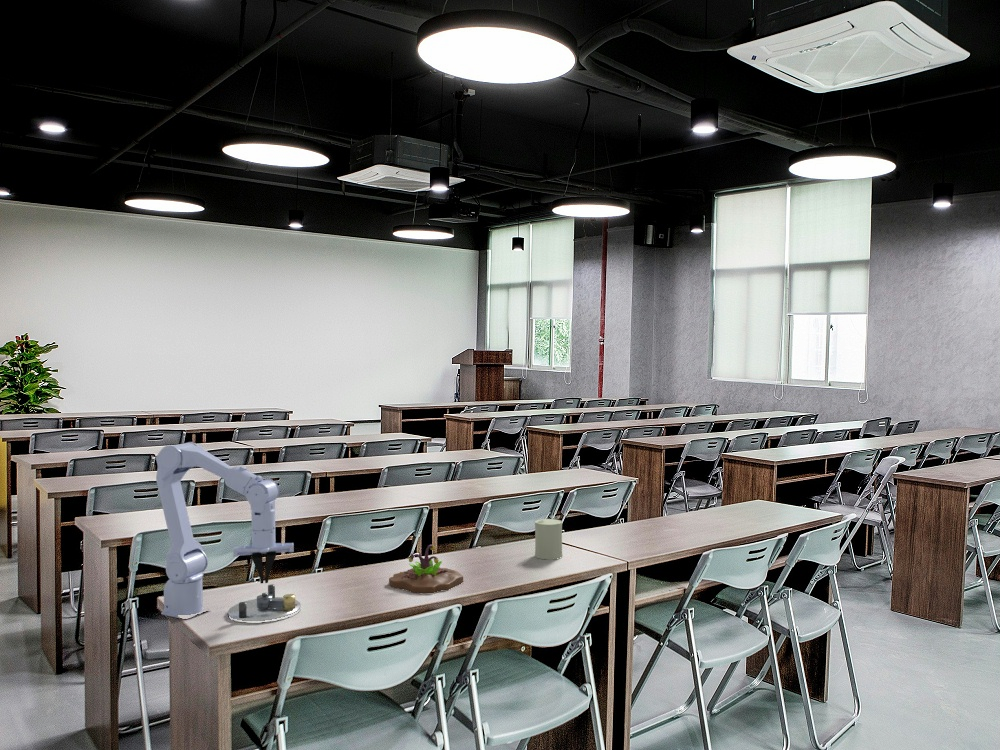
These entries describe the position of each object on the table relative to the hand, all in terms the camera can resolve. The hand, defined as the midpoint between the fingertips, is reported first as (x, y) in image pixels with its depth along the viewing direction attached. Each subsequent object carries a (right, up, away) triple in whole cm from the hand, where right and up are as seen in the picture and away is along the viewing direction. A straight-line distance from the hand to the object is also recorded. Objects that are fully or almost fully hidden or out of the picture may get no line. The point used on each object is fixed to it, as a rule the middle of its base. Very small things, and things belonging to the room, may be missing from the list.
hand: (264, 582), depth 191 cm
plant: (+38, -9, +31) cm, 50 cm away
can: (+76, -8, +60) cm, 97 cm away
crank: (+2, -8, +5) cm, 10 cm away
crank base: (-2, -9, +6) cm, 11 cm away
